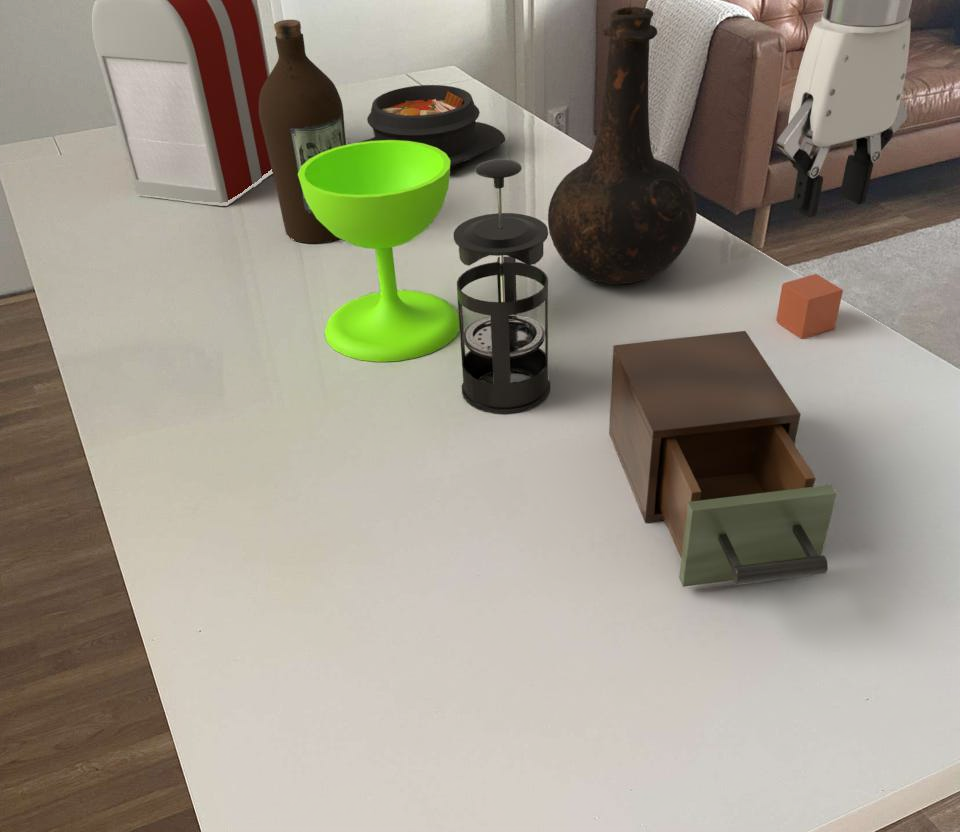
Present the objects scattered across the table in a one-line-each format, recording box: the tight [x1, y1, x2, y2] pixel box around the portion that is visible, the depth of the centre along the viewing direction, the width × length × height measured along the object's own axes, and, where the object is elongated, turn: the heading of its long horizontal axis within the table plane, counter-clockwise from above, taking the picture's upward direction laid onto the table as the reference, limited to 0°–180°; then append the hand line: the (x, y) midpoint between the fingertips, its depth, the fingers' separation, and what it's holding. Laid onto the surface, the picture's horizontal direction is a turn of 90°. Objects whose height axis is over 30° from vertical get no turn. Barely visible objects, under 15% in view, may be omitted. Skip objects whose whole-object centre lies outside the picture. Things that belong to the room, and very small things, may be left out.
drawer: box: [656, 424, 838, 588], centre depth 83 cm, size 19×11×8 cm, turn 8°
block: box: [775, 273, 844, 340], centre depth 112 cm, size 5×5×5 cm
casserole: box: [357, 84, 506, 167], centre depth 153 cm, size 25×19×8 cm
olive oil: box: [259, 19, 347, 244], centre depth 130 cm, size 11×11×25 cm
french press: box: [453, 158, 551, 414], centre depth 99 cm, size 12×9×23 cm
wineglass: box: [298, 140, 460, 363], centre depth 111 cm, size 16×16×18 cm
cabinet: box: [608, 330, 802, 524], centre depth 92 cm, size 15×13×10 cm
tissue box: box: [91, 0, 272, 203], centre depth 144 cm, size 16×18×27 cm
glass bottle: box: [547, 6, 698, 285], centre depth 116 cm, size 18×18×28 cm
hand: (828, 204), depth 104 cm, fingers open, 5 cm apart
